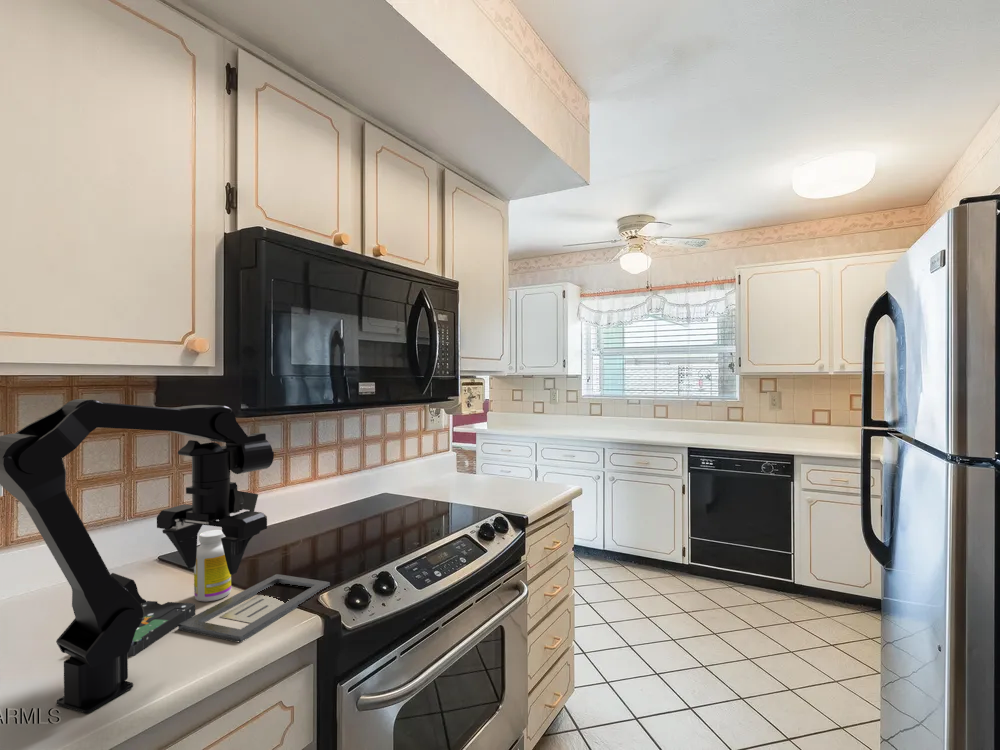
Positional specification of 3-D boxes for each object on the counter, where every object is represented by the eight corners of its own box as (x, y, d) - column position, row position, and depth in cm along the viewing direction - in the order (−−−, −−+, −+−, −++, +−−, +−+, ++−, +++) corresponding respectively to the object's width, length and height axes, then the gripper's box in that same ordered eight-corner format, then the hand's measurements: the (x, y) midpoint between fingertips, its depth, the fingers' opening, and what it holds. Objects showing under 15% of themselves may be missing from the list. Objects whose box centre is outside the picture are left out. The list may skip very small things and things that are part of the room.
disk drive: (145, 615, 101) (76, 656, 86) (145, 600, 101) (75, 639, 86) (196, 617, 100) (134, 659, 85) (196, 602, 100) (134, 641, 85)
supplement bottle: (238, 590, 110) (238, 529, 110) (213, 604, 103) (212, 539, 103) (212, 587, 112) (212, 527, 111) (186, 600, 105) (185, 536, 105)
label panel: (240, 642, 89) (240, 636, 89) (178, 629, 93) (178, 624, 93) (329, 586, 112) (329, 582, 112) (276, 578, 116) (276, 574, 116)
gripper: (289, 473, 94) (290, 560, 94) (209, 467, 100) (210, 549, 100) (240, 486, 83) (241, 584, 84) (153, 479, 89) (154, 570, 90)
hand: (212, 570), depth 89 cm, fingers open, 9 cm apart
